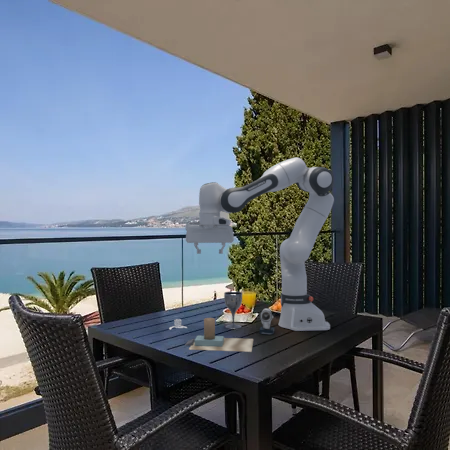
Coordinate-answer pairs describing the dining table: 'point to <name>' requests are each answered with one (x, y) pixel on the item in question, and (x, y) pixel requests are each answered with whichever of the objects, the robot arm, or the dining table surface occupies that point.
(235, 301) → the wine glass
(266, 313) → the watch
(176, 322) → the grey hub with arms
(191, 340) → the graphite chip
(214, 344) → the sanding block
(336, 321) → the dining table surface
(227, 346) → the pine board
